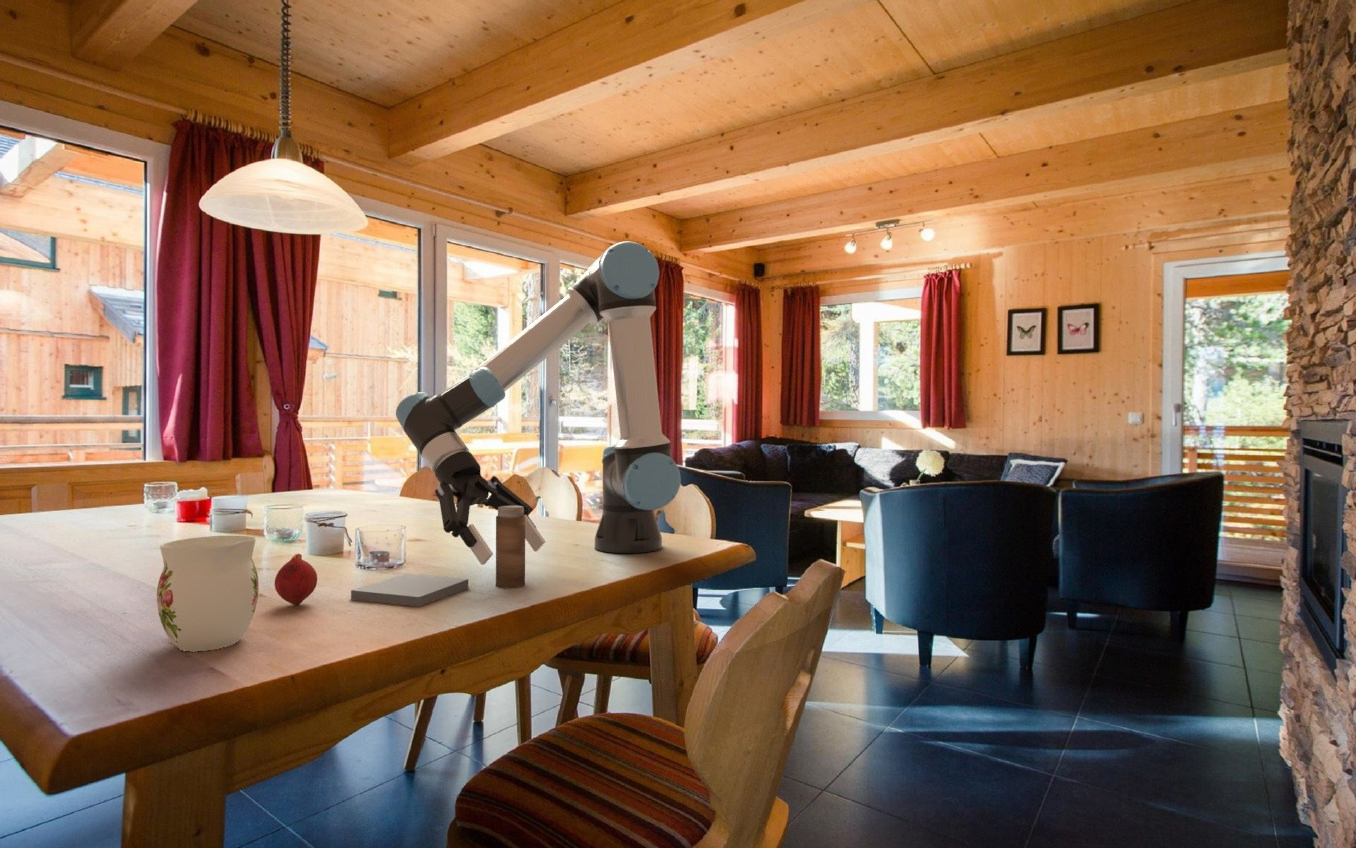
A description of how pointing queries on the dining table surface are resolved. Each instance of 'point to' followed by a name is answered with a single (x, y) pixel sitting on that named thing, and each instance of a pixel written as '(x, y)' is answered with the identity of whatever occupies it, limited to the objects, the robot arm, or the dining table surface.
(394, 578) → the slate board
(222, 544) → the pitcher
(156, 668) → the dining table surface
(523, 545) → the pepper mill
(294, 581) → the onion
